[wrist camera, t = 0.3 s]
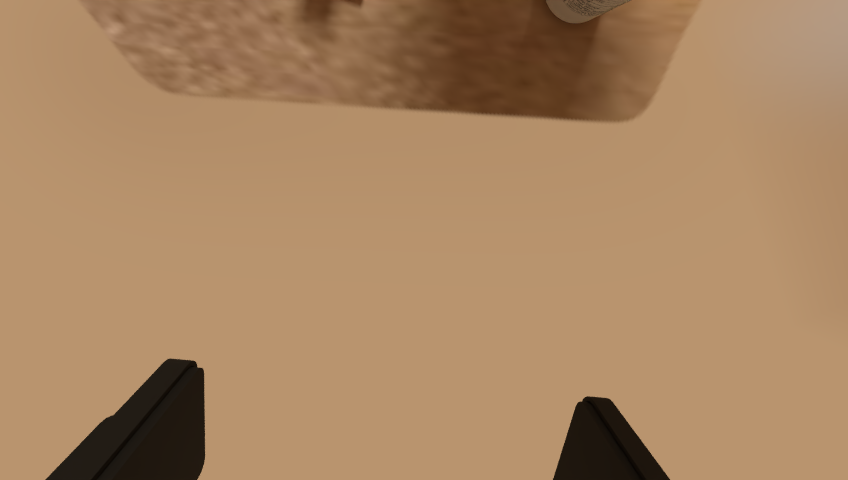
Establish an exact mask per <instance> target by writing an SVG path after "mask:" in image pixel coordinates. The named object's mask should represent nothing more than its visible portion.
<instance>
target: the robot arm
mask: <svg viewBox="0 0 848 480" xmlns="http://www.w3.org/2000/svg"><path fill="white" fill-rule="evenodd" d="M204 419H205V416H204V370H203V369H202V368H197V364H196V362H195V361H191V360H180V359H168V360H166V361H165V362H164V363H163V364H162V365H161V366H160V367H159V368H158V369H157V370H156V371H155V372H154V373H153V374H152V375H151V376H150V377H149V379H148V380H147V381H146V382H145V383H144V384H143V385H142V386H141V387H140V388H139V389H138V390H137V391H136V392H135V393H134V395H132V396H131V397H130V399H129V400H128V401H127V402H126V403H125V404H124V405H123V406H122V407H121V408H120V409H119V410H118V411H117V412H116V413H115V414H114V415H113V416H110V417H108V418H106V419H105V420H103V421H102V422H101V423H100V424H99V425H98V426H97V427H96V428H95V429H94V430H93V431H92V432H91V433H90V434H89V435H88V436H87V437H86V438H85V439H84V440H83V441H82V442H81V443H80V445H79V446H78V447H77V448H76V449H75V450H74V451H73V452H72V453H71V454H70V455H69V456H68V457H67V458H66V459H65V460H64V461H63V462H62V463H61V464H60V465H59V466H58V467H57V468H56V469H55V470H54V471H53V472H52V473H51V475H50V476H49V477H48V478H47V479H46V480H197V479H198V477H199V475H200V473H201V471H202V468H203V465H204V460H205V420H204ZM553 480H670V479H669V478H668V476H667V475H666V474H665V472H664V471H663V470H662V468H661V467H660V465H659V464H658V463H657V461H656V460H655V459H654V457H653V456H652V455H651V453H650V452H649V451H648V449H647V448H646V446H645V445H644V444H643V443H642V441H641V440H640V438H639V437H638V436H637V434H636V433H635V432H634V430H633V429H632V428H631V427H630V425H629V424H628V422H627V421H626V419H625V418H624V417H623V415H622V414H621V413H620V411H619V410H618V409H617V407H616V406H615V405H614V403H613V402H612V401H611V400H610V399H608V398H599V397H585V398H584V399H583V401H582V402H578V403H577V405H576V407H575V411H574V414H573V417H572V420H571V424H570V427H569V430H568V433H567V437H566V440H565V443H564V446H563V449H562V453H561V456H560V459H559V462H558V466H557V469H556V472H555V475H554V478H553Z"/></svg>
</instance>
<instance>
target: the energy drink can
mask: <svg viewBox="0 0 848 480" xmlns="http://www.w3.org/2000/svg"><path fill="white" fill-rule="evenodd" d="M628 1H630V0H546V2H547V5H548V7H549V8H550V10H551V11H552V12H553V14H554V15H555V16H556V17H558V18H559V19H561V20H563V21H565V22H568V23H574V24H575V23H583V22H586V21H589V20H591V19H593V18H595V17H597V16H599V15H601V14H604V13H606V12H608V11H610V10H612V9H614V8H616V7H618V6H620V5H622V4H624V3H626V2H628Z"/></svg>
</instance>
